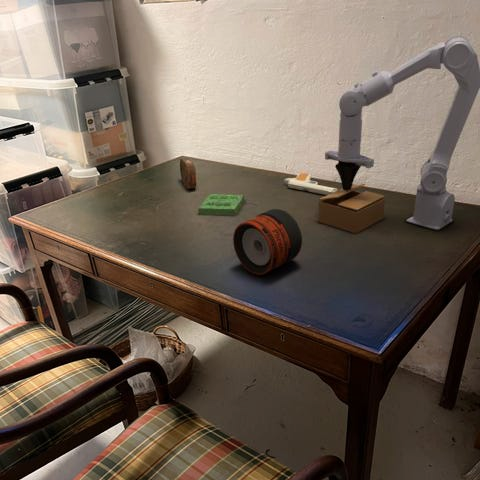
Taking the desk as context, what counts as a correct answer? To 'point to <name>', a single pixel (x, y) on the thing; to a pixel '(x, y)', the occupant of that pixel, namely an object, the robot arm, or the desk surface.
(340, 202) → the block
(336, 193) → the flap
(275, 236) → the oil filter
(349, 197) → the carton
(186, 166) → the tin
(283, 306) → the desk surface
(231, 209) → the carved green slab
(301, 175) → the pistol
